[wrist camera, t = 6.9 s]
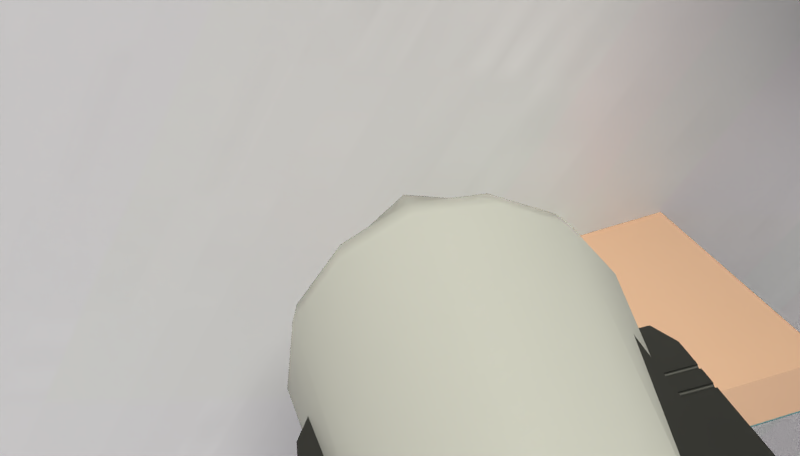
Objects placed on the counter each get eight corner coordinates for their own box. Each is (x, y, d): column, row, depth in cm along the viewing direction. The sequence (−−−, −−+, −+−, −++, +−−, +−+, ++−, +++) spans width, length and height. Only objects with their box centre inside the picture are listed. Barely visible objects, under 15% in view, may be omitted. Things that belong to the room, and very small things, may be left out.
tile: (423, 281, 35) (491, 461, 24) (660, 211, 35) (828, 358, 25) (433, 319, 36) (503, 508, 25) (663, 251, 37) (826, 408, 26)
